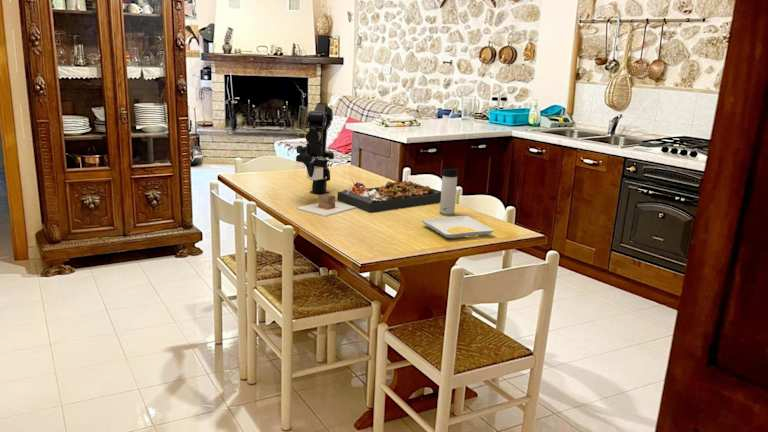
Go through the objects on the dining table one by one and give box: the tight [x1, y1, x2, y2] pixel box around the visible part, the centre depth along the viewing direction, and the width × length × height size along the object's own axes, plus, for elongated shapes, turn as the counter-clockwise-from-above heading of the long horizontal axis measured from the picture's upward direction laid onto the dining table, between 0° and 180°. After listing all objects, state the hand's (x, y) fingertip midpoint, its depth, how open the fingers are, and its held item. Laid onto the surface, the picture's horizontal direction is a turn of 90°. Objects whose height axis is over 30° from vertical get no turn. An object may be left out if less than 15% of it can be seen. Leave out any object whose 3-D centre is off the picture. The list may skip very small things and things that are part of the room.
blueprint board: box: [296, 201, 357, 218], centre depth 265 cm, size 20×16×1 cm
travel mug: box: [439, 168, 459, 216], centre depth 264 cm, size 6×7×20 cm
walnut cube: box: [317, 193, 336, 209], centre depth 264 cm, size 5×5×5 cm
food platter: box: [336, 178, 441, 214], centre depth 284 cm, size 45×25×10 cm, turn 128°
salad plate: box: [421, 215, 494, 239], centre depth 241 cm, size 21×21×3 cm
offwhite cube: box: [306, 166, 323, 181], centre depth 274 cm, size 5×5×5 cm
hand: (314, 176), depth 274 cm, fingers closed on offwhite cube, 5 cm apart
